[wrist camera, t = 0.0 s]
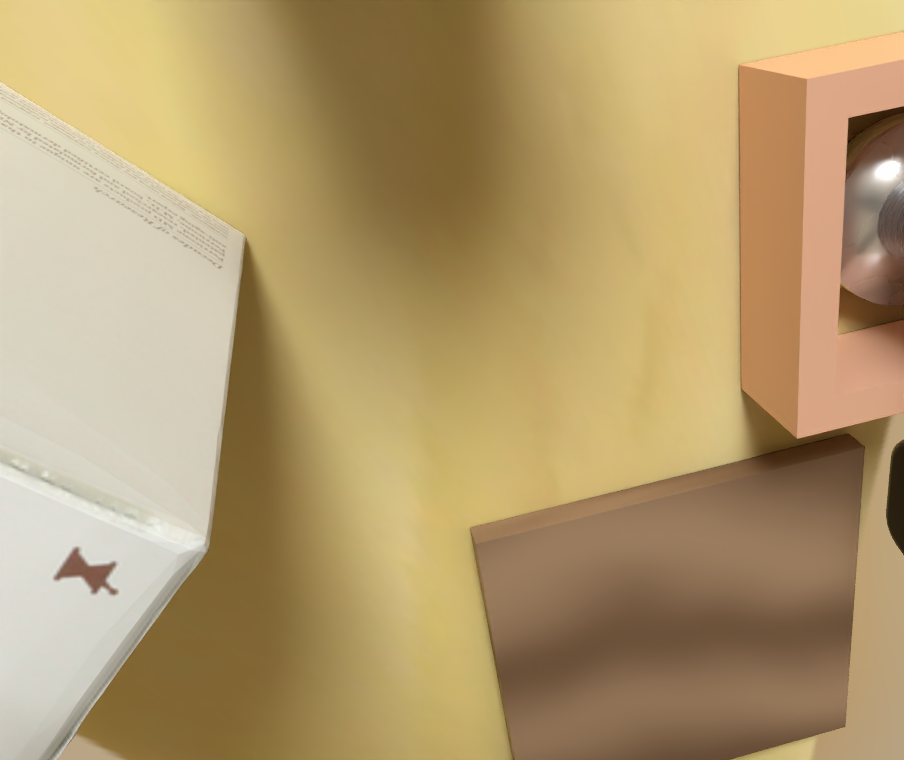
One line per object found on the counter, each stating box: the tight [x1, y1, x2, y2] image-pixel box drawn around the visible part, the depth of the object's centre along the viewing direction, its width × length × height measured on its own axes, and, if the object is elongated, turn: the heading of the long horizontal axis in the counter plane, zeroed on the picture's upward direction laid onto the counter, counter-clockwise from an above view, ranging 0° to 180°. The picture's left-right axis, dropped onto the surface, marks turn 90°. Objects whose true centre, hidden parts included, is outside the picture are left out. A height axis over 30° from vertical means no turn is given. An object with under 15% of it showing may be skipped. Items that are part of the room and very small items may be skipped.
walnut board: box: [470, 434, 865, 760], centre depth 28 cm, size 12×12×1 cm
